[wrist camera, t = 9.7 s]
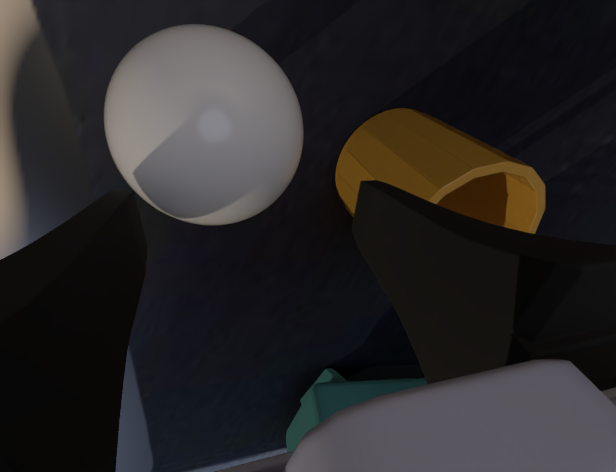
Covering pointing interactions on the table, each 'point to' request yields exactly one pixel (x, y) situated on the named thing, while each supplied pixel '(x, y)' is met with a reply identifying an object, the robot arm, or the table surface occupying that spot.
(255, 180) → the lightbulb
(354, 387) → the radio
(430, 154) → the mug
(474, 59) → the table surface
